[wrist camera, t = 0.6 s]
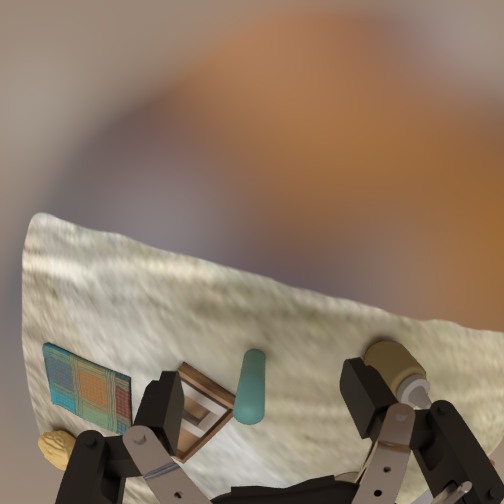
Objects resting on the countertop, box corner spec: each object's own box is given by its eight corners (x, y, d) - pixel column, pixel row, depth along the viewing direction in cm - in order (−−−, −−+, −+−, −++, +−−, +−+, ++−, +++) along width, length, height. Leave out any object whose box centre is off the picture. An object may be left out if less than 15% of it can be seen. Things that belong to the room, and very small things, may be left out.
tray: (241, 399, 43) (239, 409, 39) (187, 454, 44) (183, 463, 40) (184, 361, 43) (178, 369, 40) (138, 422, 44) (132, 431, 41)
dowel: (269, 356, 42) (270, 410, 26) (256, 371, 42) (252, 429, 26) (252, 345, 42) (244, 395, 26) (239, 360, 42) (226, 414, 26)
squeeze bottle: (367, 331, 41) (418, 376, 23) (404, 338, 41) (462, 378, 23) (351, 373, 42) (389, 433, 24) (388, 378, 41) (434, 430, 23)
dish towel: (47, 338, 45) (40, 341, 43) (132, 374, 44) (126, 380, 42) (55, 399, 46) (49, 403, 43) (135, 436, 45) (131, 443, 42)
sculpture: (83, 434, 45) (61, 456, 34) (93, 463, 45) (75, 485, 35) (51, 418, 46) (28, 436, 35) (62, 448, 46) (43, 466, 35)
